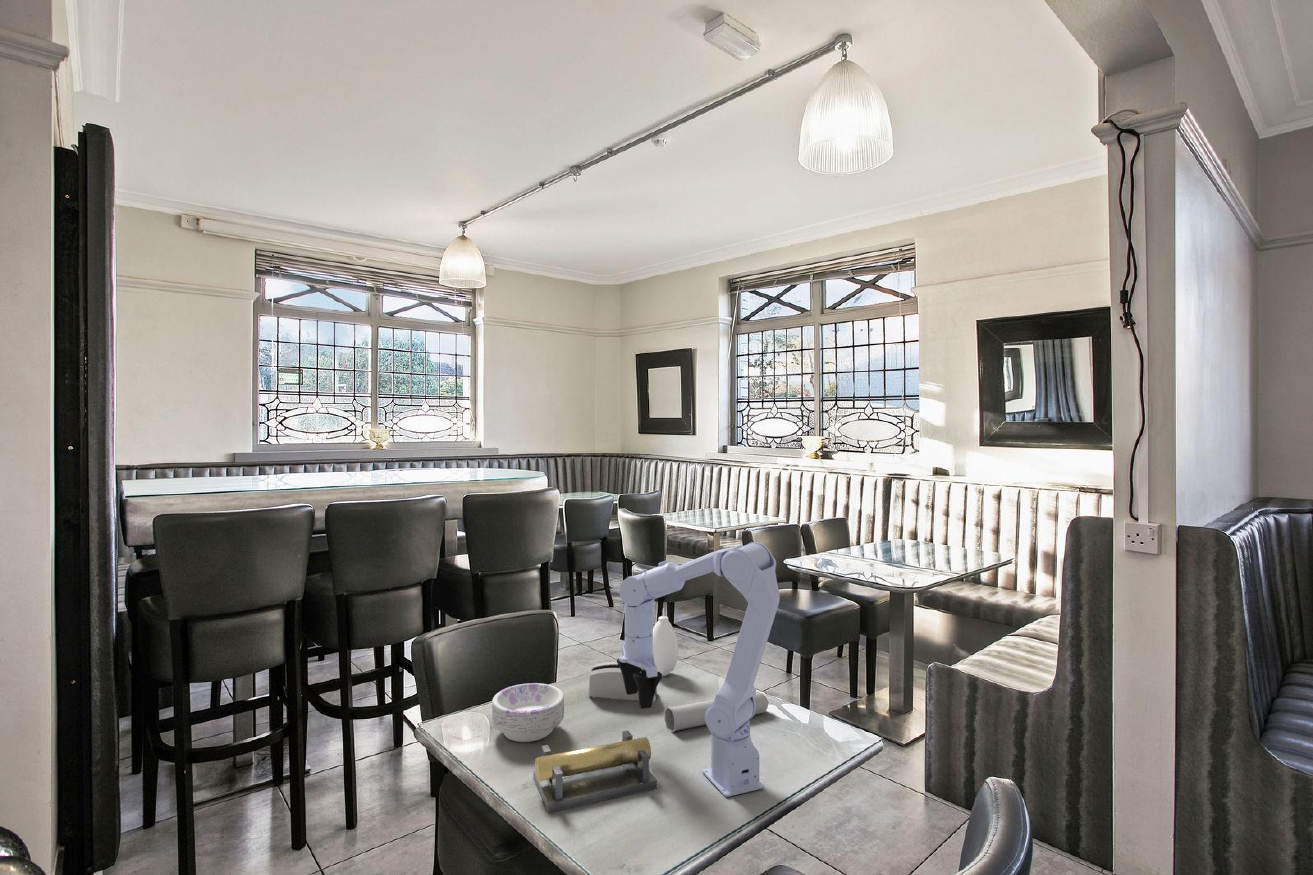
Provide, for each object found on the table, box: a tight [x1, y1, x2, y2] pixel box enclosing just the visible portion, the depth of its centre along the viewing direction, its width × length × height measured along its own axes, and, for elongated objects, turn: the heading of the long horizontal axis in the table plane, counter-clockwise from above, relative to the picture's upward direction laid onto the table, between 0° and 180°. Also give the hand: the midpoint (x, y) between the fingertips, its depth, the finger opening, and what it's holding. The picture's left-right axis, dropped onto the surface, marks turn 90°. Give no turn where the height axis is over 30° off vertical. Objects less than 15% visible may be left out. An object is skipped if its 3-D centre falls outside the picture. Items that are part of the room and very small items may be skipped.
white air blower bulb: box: [653, 607, 679, 677], centre depth 176 cm, size 8×8×18 cm
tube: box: [664, 691, 769, 734], centre depth 149 cm, size 5×5×25 cm
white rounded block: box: [588, 661, 658, 703], centre depth 161 cm, size 17×5×10 cm, turn 80°
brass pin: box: [534, 736, 652, 782], centre depth 122 cm, size 21×4×4 cm, turn 113°
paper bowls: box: [491, 682, 565, 743], centre depth 142 cm, size 15×15×8 cm
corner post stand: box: [532, 730, 658, 813], centre depth 122 cm, size 12×20×6 cm, turn 113°
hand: (638, 700), depth 135 cm, fingers open, 7 cm apart
